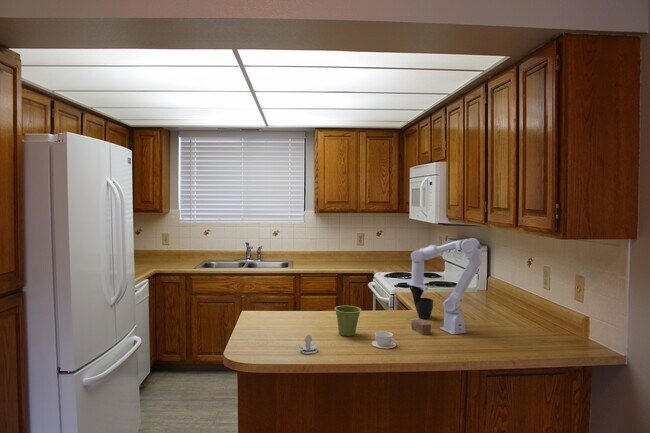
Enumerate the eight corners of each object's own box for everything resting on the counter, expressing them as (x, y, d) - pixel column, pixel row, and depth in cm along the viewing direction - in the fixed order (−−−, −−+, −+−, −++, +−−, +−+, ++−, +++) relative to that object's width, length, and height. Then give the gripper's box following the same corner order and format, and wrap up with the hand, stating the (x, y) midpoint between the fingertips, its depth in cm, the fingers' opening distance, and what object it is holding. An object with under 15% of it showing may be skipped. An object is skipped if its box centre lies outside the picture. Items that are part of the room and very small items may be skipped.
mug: (420, 313, 222) (421, 295, 221) (435, 319, 211) (436, 300, 210) (408, 314, 218) (409, 296, 218) (422, 320, 207) (423, 302, 207)
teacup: (366, 344, 171) (366, 333, 171) (381, 339, 178) (381, 328, 178) (386, 351, 164) (386, 339, 164) (400, 345, 171) (401, 334, 171)
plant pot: (352, 340, 175) (353, 314, 175) (328, 334, 182) (329, 309, 181) (365, 333, 186) (365, 308, 185) (342, 328, 192) (342, 304, 191)
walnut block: (418, 327, 195) (430, 333, 187) (410, 328, 194) (422, 334, 185) (419, 318, 195) (430, 324, 187) (411, 319, 193) (422, 324, 185)
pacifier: (320, 353, 160) (314, 347, 165) (321, 337, 160) (314, 332, 165) (303, 356, 157) (297, 350, 162) (303, 340, 156) (297, 334, 162)
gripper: (402, 272, 206) (401, 299, 207) (419, 277, 193) (418, 306, 194) (414, 271, 209) (413, 298, 210) (432, 277, 196) (431, 305, 196)
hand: (416, 302), depth 202 cm, fingers closed
